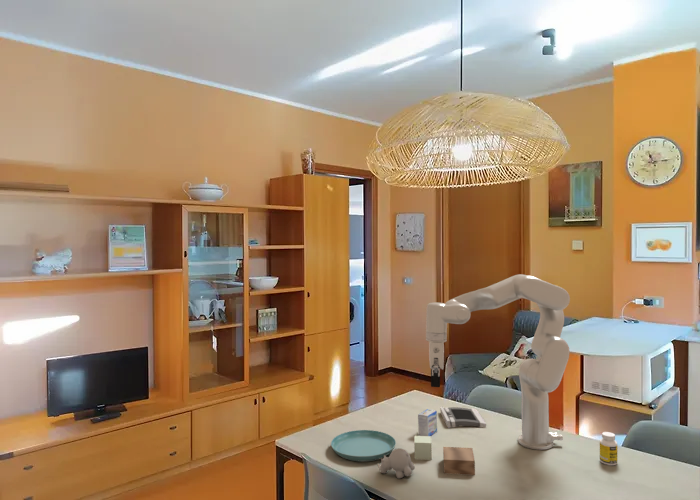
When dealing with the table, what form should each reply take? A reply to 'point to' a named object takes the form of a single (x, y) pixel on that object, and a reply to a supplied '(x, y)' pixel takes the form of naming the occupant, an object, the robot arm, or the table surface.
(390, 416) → the table surface
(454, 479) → the table surface
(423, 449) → the sage cube
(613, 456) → the supplement bottle
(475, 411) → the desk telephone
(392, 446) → the teal plate
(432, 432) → the medicine box
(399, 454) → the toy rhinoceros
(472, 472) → the walnut block
